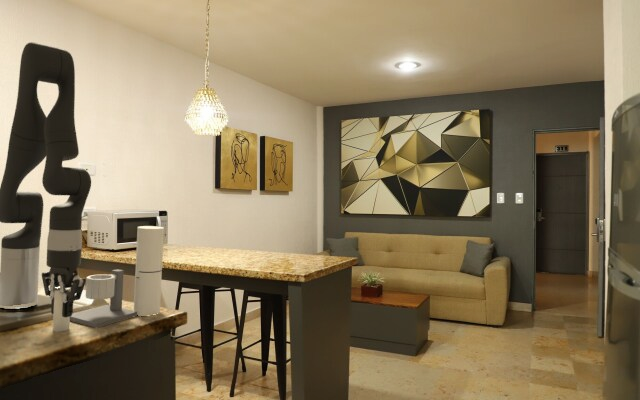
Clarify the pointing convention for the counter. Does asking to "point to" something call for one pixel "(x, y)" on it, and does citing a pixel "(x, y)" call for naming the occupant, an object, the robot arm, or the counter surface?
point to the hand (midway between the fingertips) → (61, 314)
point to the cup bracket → (104, 289)
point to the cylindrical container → (148, 270)
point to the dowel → (59, 313)
